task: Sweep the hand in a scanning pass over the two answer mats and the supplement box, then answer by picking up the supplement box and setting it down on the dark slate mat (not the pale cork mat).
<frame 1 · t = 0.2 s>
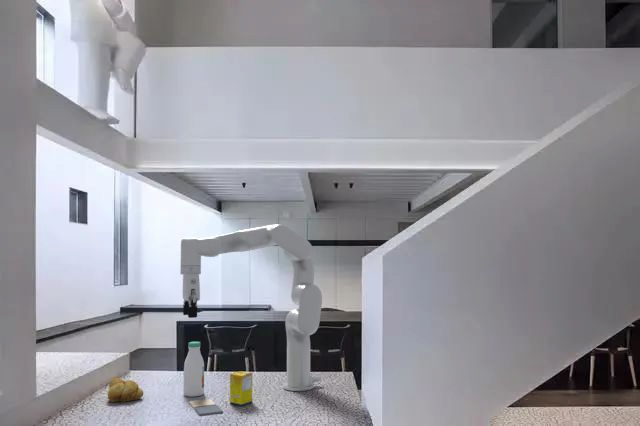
hand: (190, 316, 207), 31 cm above the countertop, tool pointing down, fingers open, 9 cm apart
milk bottle: (193, 395, 213), on the countertop
bread roll: (124, 400, 205), on the countertop
cork mat: (202, 404, 199), on the countertop
slate mat: (208, 411, 191), on the countertop
supplement box: (241, 404, 200), on the countertop
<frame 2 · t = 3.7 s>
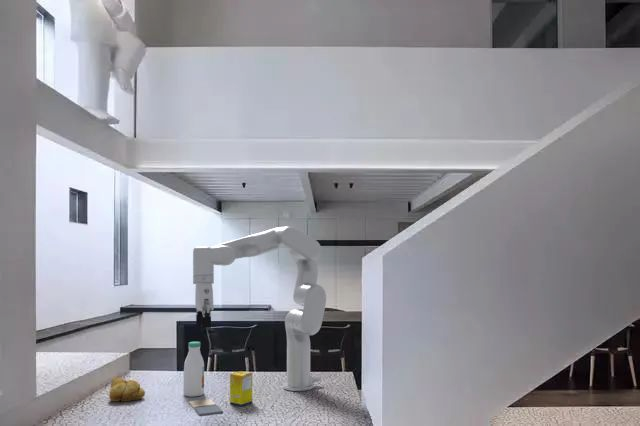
hand: (203, 326, 203), 28 cm above the countertop, tool pointing down, fingers open, 9 cm apart
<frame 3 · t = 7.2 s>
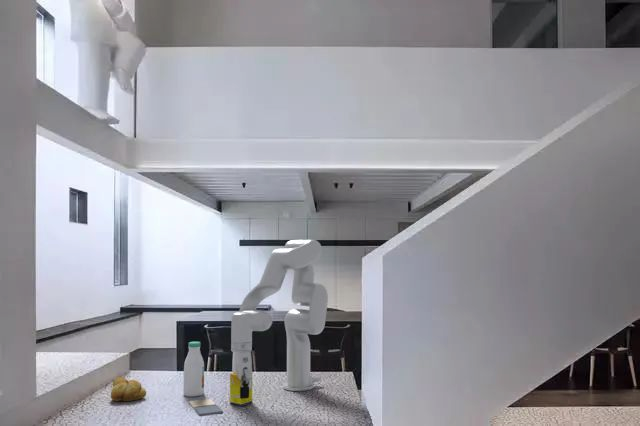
hand: (241, 395, 200), 3 cm above the countertop, tool pointing down, fingers closed on supplement box, 8 cm apart
supplement box: (241, 404, 200), on the countertop, touching gripper
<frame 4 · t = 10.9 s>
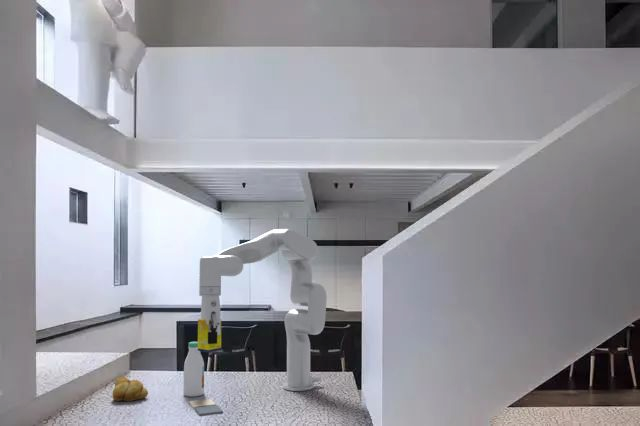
hand: (209, 341, 192), 24 cm above the countertop, tool pointing down, fingers closed on supplement box, 8 cm apart
supplement box: (209, 351, 192), point 21 cm above the countertop, touching gripper
when the fingers open (5 cm above the countertop, at t = 14.7 s): supplement box drops 2 cm, resting on slate mat.
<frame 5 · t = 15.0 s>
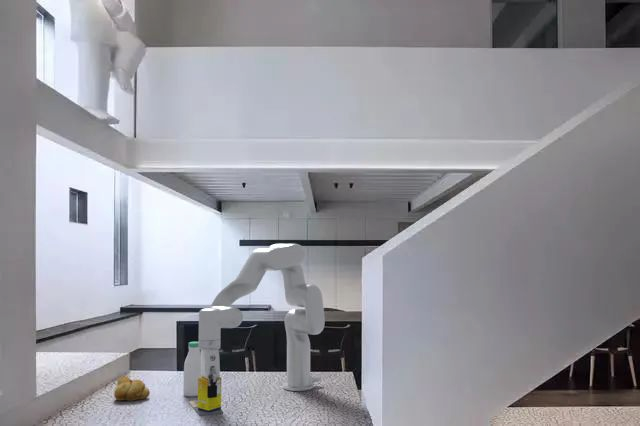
hand: (208, 394, 191), 6 cm above the countertop, tool pointing down, fingers open, 9 cm apart
supplement box: (209, 410, 191), resting on slate mat
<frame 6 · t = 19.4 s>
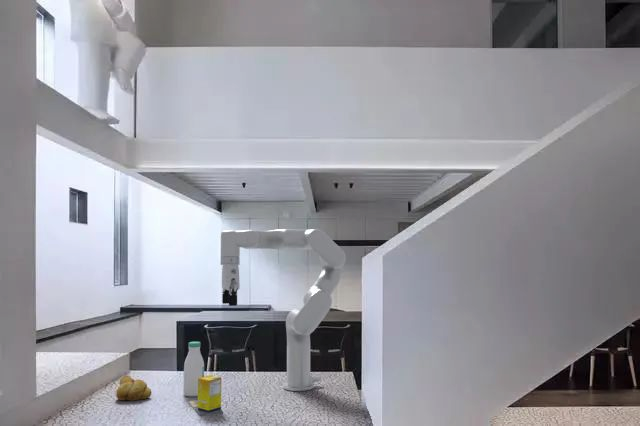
hand: (229, 304, 218), 34 cm above the countertop, tool pointing down, fingers open, 9 cm apart
at the end: supplement box inside the target area on the slate mat (0.3 cm from its centre), point 0.4 cm above the slate mat's base; supplement box tilted 0°; the gripper is holding nothing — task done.
